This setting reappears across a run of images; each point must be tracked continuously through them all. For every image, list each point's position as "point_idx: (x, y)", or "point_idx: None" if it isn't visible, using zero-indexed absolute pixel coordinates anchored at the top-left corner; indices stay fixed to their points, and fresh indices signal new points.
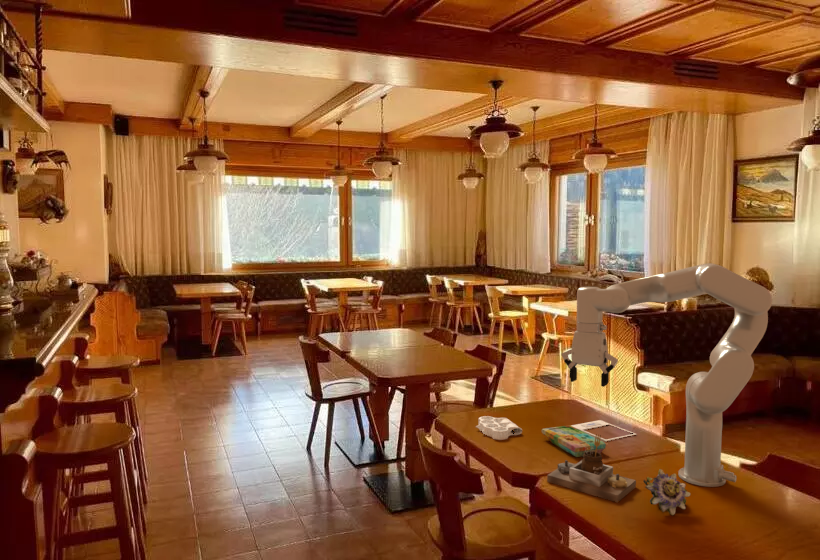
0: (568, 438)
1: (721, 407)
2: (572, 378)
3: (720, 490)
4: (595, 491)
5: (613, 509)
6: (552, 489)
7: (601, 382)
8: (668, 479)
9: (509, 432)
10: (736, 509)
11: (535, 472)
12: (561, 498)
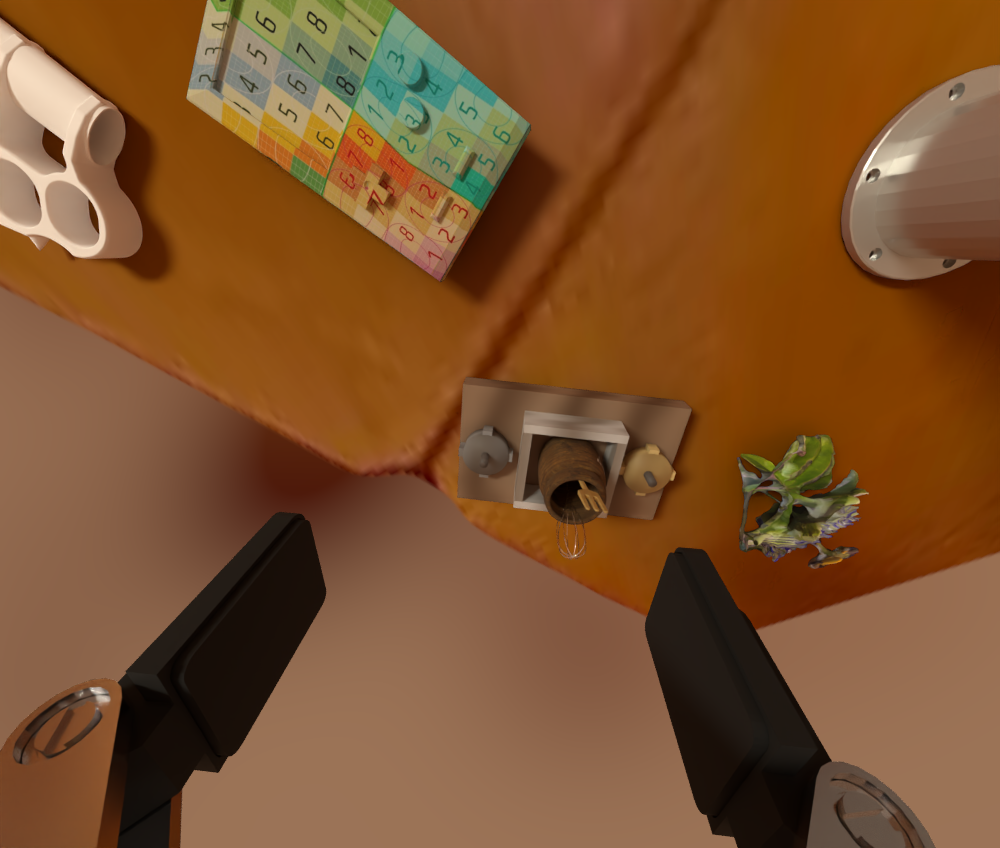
0: (371, 199)
1: None
2: (303, 629)
3: (977, 270)
4: None
5: (643, 539)
6: (490, 516)
7: (659, 667)
8: (823, 529)
9: (100, 171)
10: (976, 396)
11: (407, 451)
12: (526, 544)
